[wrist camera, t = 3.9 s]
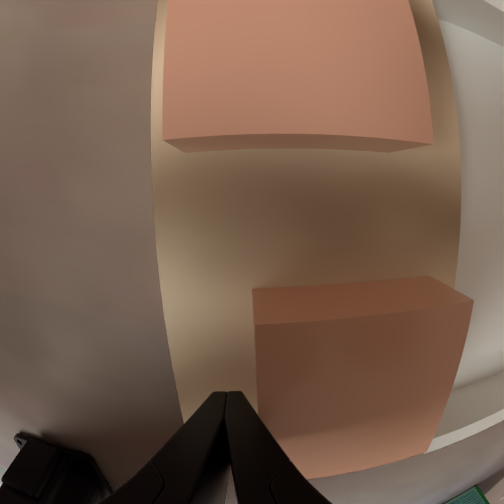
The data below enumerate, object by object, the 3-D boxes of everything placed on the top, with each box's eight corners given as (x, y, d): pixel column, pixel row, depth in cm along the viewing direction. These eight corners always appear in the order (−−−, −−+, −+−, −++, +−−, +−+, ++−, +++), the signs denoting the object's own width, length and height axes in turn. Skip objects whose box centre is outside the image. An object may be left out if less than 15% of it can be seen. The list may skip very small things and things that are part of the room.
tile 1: (402, 413, 10) (426, 451, 8) (258, 434, 10) (261, 483, 8) (430, 276, 9) (474, 300, 7) (251, 288, 9) (254, 324, 7)
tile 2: (388, 152, 8) (433, 144, 6) (184, 153, 8) (162, 140, 6) (366, -7, 7) (393, -44, 5) (188, -14, 7) (175, -58, 5)
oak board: (402, 399, 13) (419, 423, 11) (195, 419, 12) (190, 450, 10) (408, 14, 9) (429, -6, 7) (172, -1, 9) (161, -28, 7)
